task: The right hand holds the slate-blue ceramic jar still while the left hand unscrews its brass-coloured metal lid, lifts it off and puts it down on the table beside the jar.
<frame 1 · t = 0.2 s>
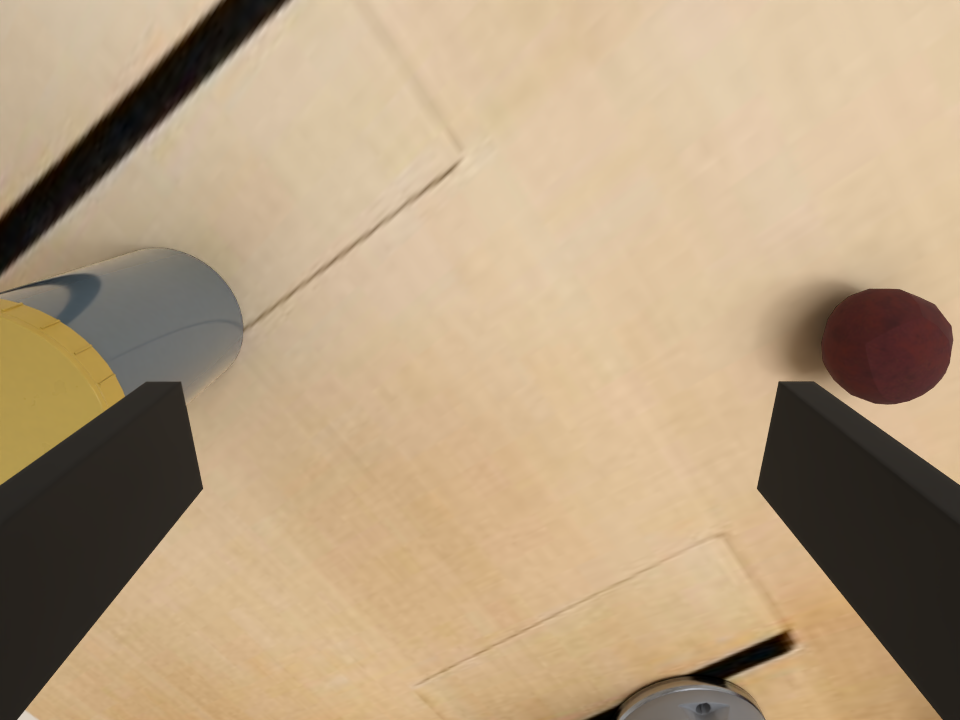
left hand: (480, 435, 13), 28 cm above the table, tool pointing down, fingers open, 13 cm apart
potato: (850, 327, 41), on the table
jar: (171, 319, 41), on the table
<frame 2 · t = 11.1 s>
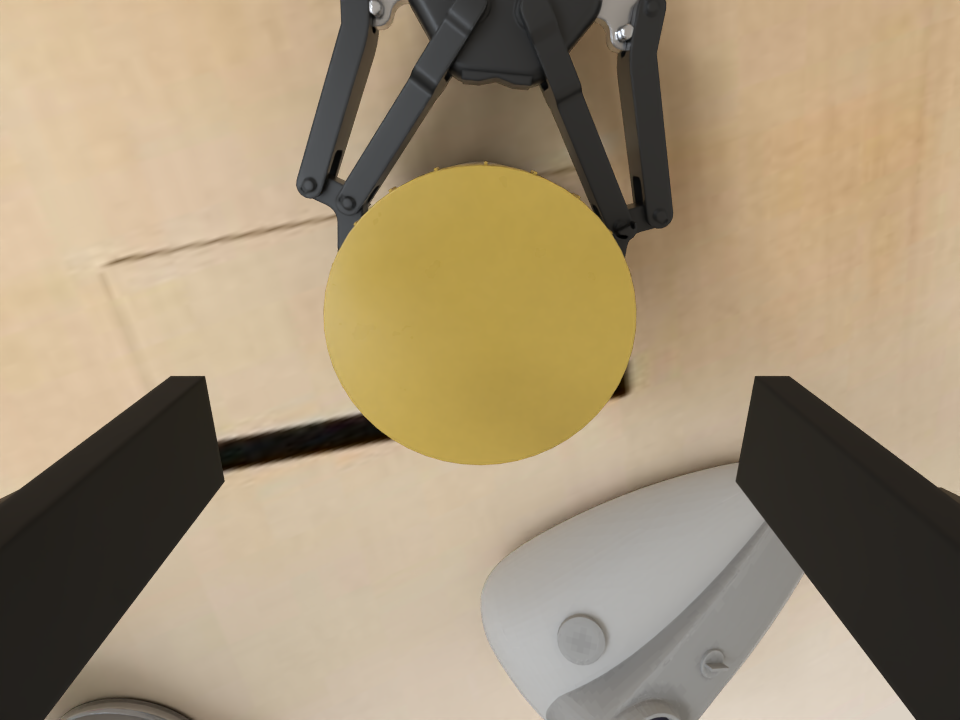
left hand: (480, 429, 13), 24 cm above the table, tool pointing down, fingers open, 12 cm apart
right hand: (473, 348, 30), fingers closed on jar, 10 cm apart
projector: (641, 553, 43), on the table
lid: (480, 327, 20), point 16 cm above the table, screwed on, not yet turned
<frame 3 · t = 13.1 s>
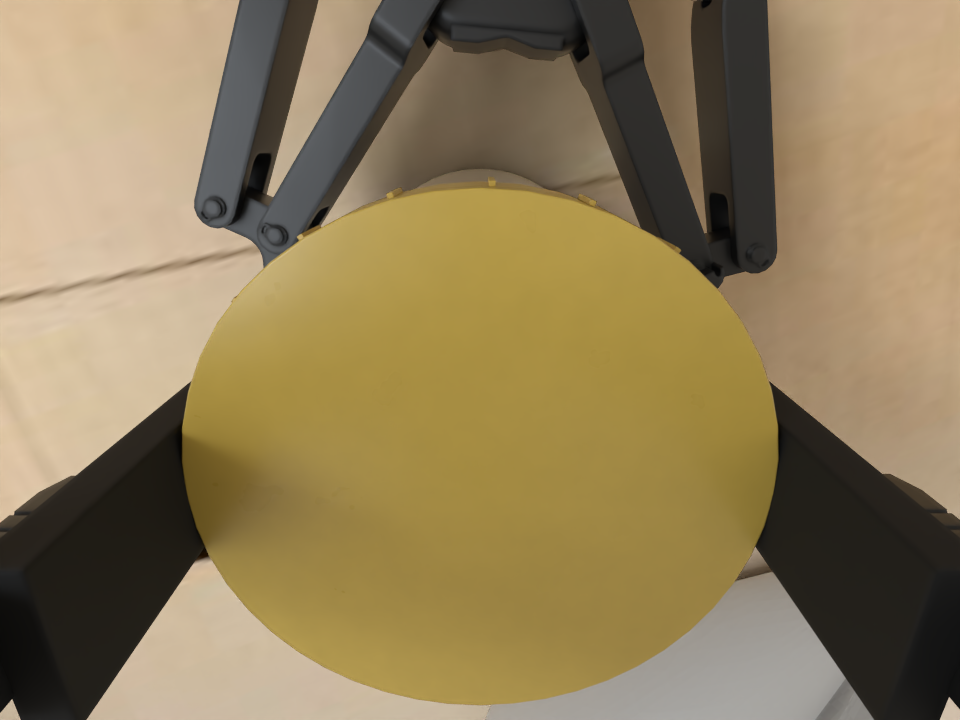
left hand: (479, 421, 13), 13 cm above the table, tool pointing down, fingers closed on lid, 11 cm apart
projector: (685, 665, 34), on the table
lid: (480, 484, 11), point 16 cm above the table, screwed on, not yet turned, touching left hand
jar: (479, 287, 26), on the table, touching right hand
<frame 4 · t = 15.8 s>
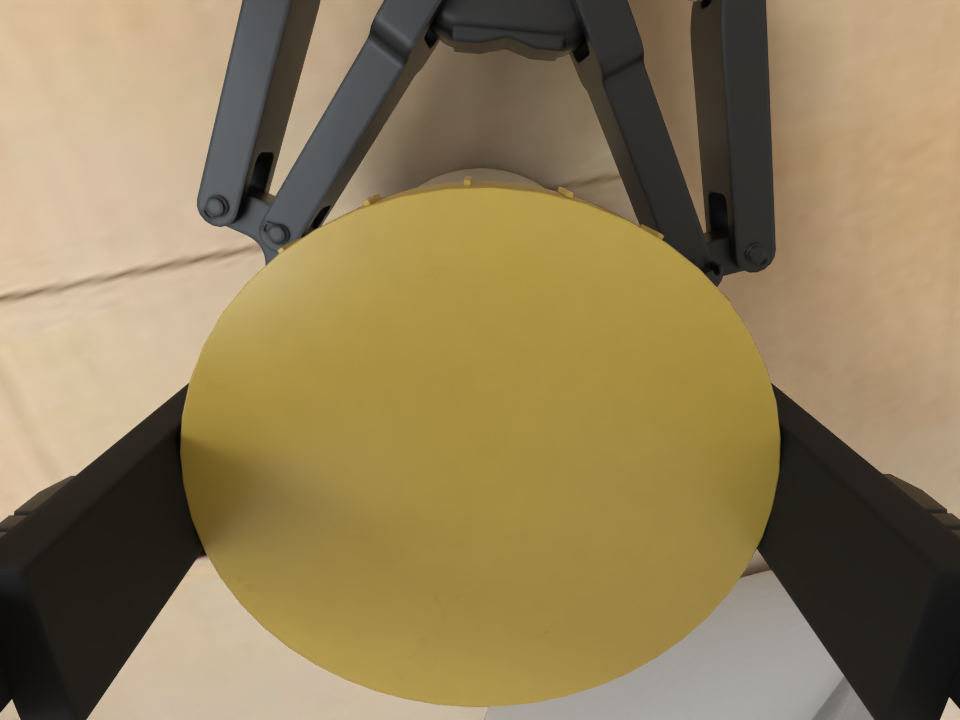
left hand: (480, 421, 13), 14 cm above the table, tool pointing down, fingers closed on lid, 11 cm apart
projector: (684, 663, 34), on the table
lid: (480, 485, 11), point 16 cm above the table, turned 73° so far, risen 0.2 cm, still on its thread, touching left hand
jar: (480, 286, 26), on the table, touching right hand
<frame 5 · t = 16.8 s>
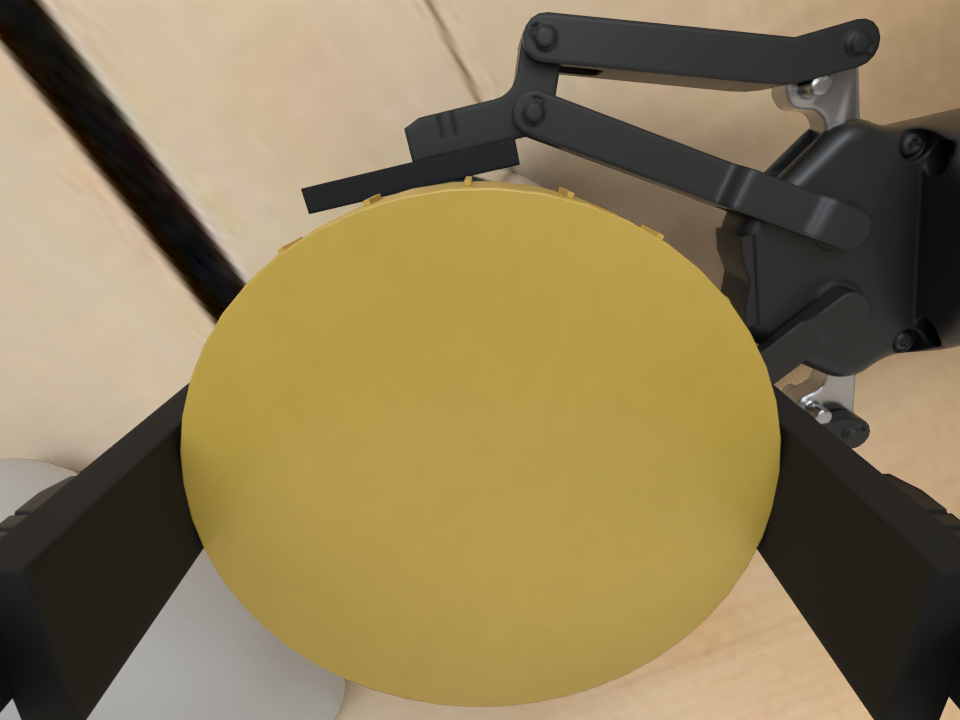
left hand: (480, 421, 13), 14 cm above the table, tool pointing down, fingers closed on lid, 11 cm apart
projector: (162, 604, 33), on the table
lid: (480, 485, 11), point 16 cm above the table, off its thread, touching left hand
jar: (480, 286, 26), on the table, touching right hand
when the left hand's fingers open (0 cm above the table, at t = 22.4 s): lid drops 2 cm, point 1 cm above the table.
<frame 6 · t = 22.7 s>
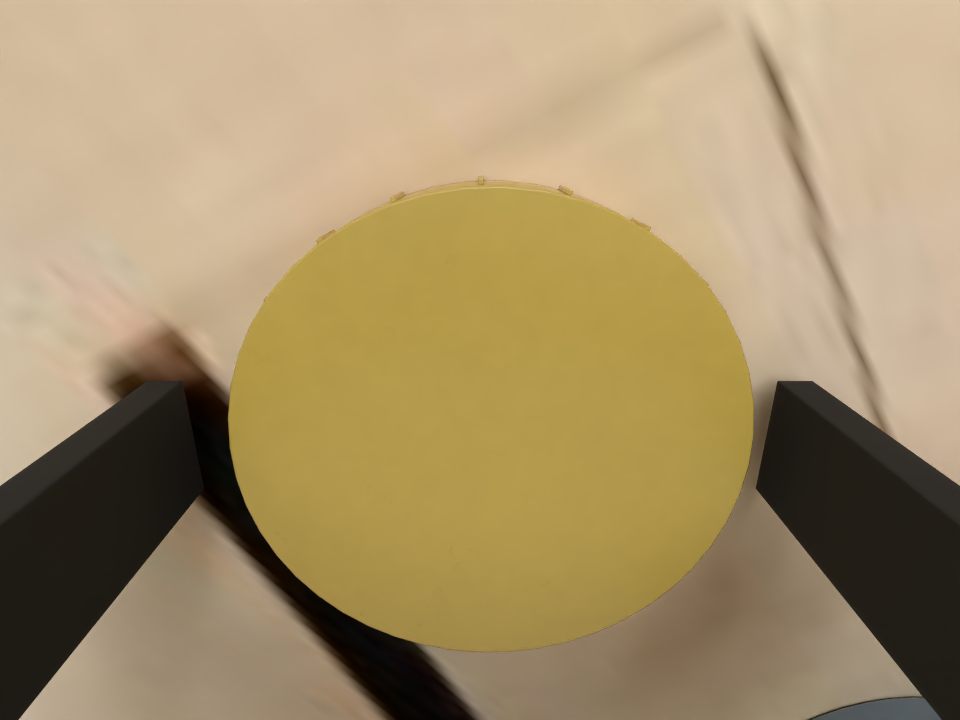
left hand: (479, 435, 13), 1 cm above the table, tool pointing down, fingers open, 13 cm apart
lid: (490, 449, 12), point 1 cm above the table, off its thread
when the right hand's fingers open (7 cm above the table, at t = 23.5 s): jar stays where it is, on the table.
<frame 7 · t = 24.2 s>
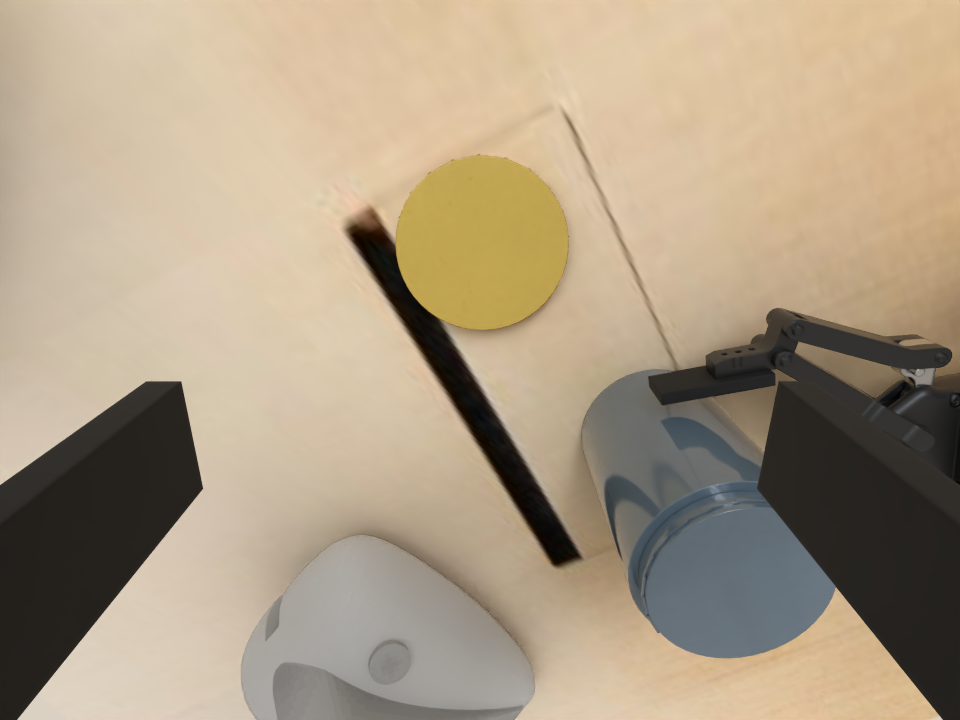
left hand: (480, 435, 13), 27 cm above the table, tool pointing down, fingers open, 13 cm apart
projector: (412, 622, 49), on the table
lid: (482, 246, 36), point 1 cm above the table, off its thread
jar: (650, 433, 43), on the table
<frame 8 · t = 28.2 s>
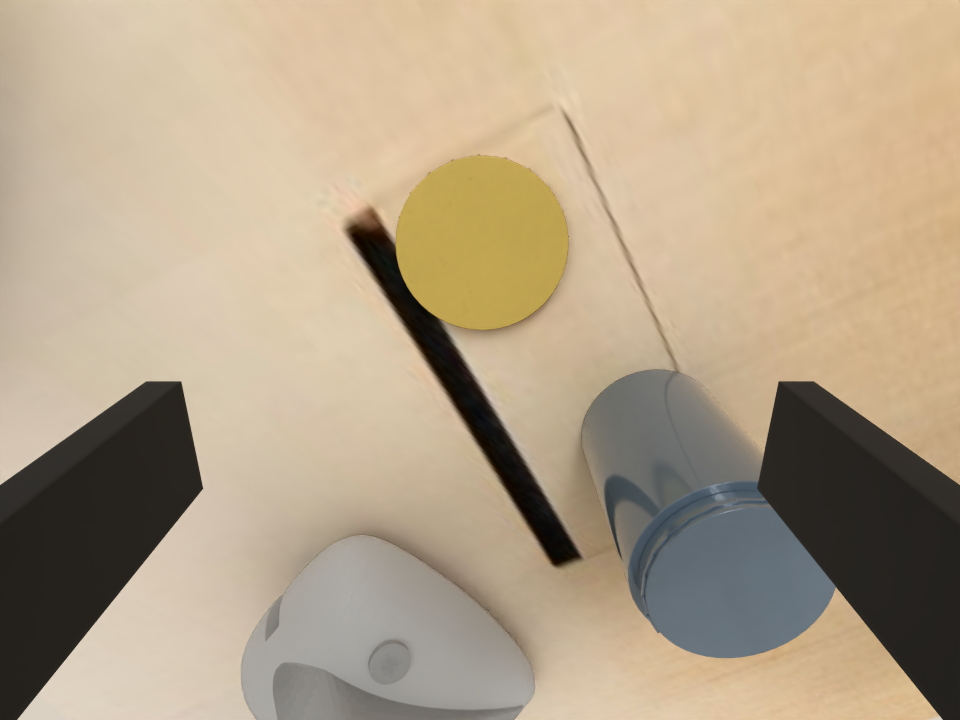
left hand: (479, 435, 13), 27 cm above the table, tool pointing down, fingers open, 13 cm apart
projector: (412, 622, 49), on the table
lid: (482, 246, 36), point 1 cm above the table, off its thread
jar: (649, 433, 43), on the table
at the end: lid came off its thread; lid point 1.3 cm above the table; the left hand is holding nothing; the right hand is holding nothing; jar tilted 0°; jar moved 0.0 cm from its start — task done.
